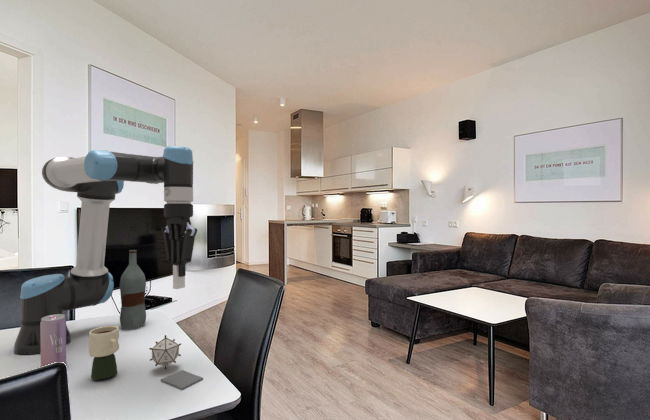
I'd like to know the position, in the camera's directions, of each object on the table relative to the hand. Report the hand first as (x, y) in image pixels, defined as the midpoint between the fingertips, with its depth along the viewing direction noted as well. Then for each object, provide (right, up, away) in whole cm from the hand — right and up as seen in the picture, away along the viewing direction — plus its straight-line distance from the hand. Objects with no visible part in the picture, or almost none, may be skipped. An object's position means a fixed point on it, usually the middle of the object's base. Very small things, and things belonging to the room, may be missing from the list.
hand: (179, 287), depth 101 cm
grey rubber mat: (+2, -24, -3) cm, 25 cm away
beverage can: (-38, -25, +4) cm, 45 cm away
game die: (-5, -24, +4) cm, 25 cm away
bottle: (-35, -24, +41) cm, 59 cm away
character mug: (-20, -25, -1) cm, 32 cm away
